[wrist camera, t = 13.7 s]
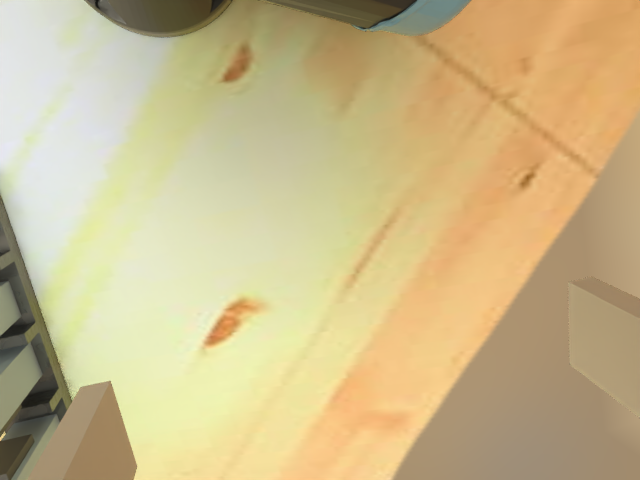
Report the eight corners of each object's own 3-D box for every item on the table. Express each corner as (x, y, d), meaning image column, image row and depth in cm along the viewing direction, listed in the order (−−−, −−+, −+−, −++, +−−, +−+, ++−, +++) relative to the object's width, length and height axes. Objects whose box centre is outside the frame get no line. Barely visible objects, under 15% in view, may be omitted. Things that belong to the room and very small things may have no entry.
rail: (-82, 182, 42) (-114, 189, 38) (-9, 170, 43) (-33, 175, 39) (27, 461, 50) (9, 489, 46) (87, 446, 51) (75, 474, 47)
